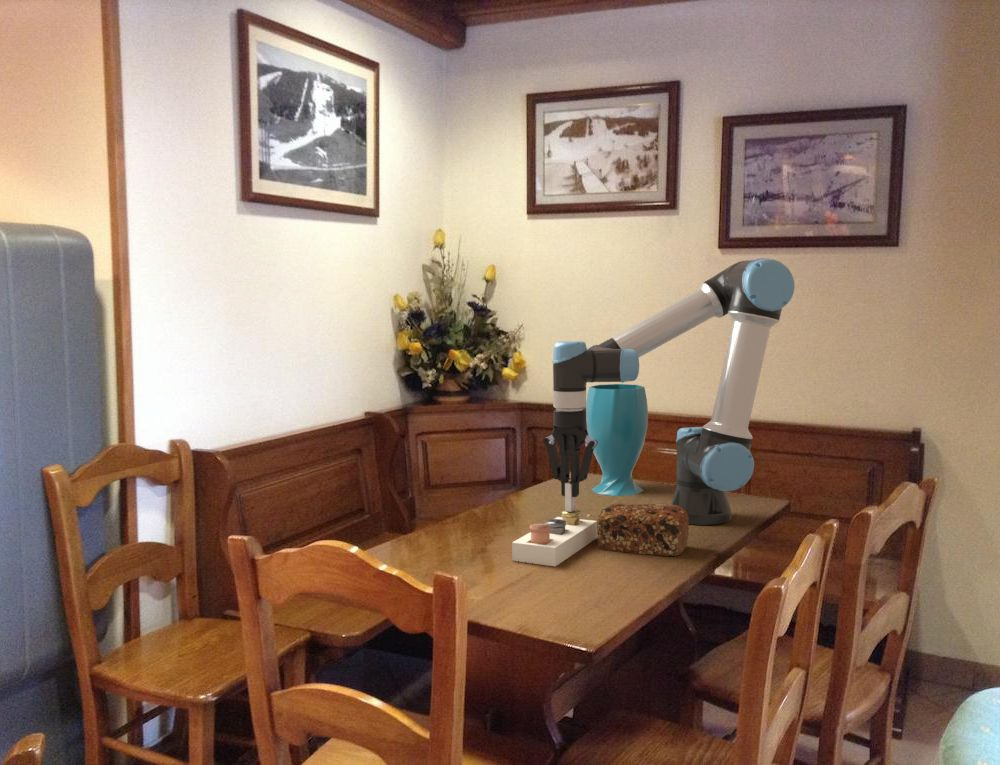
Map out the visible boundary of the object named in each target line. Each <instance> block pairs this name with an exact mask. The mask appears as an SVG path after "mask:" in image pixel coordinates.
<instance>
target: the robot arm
mask: <svg viewBox="0 0 1000 765" xmlns="http://www.w3.org/2000/svg"><path fill="white" fill-rule="evenodd" d="M794 279H795V278H794V277H793V274H792V271H791V270H790V269H789V267H787V266H786V265H785V264H784V263H783V262H781V261H779V260H776V259H773V258H764V257H761V258H757V259H752V260H751V259H750V260H741V261H737V262H736V263H733V264H732V265H729V266H728V267H726V268H725V269H724V270H722V271H720V272H718V273H717V274H715V275H714V276H712V277H710V278H709V279H707V280H706V281H703V282H701V284H699V285H700V286H699V289H697V290H696V291H694V292H692V293H691V294H688V295H687V296H685V297H683V298H681V299H680V300H677V301H676V302H674V303H672V304H670V305H669V306H666V307H665V308H663V309H661V310H660V311H657V312H656V313H653V314H652V315H651V316H649V317H647V318H645V319H643V320H641V321H640V322H637V323H636V324H634V325H632V326H631V327H629V328H627V329H625V330H623V331H621V332H619V333H617V334H615V335H613V336H612V337H611V338H609V339H607V340H605V341H603V342H601V343H599V344H594V345H592V346H589V347H587V344H586V342H585V341H581V340H578V341H577V340H562V341H557V342H555V344H554V345H553V353H552V362H551V363H552V375H553V376H552V380H553V384H552V385H553V387H552V388H553V389H552V390H553V392H552V393H553V397H552V398H553V399H552V405H553V408H555V409H554V410H553V416H552V417H553V429H552V431H551V434H550V435H548V436H547V437H544V438H543V439H542V442H543V444H544V446H545V448H546V449H547V450H546V451H547V456H548V459H549V460H548V461H549V463H550V469H551V473H552V476H553V477H552V478H553V479H554V480H558V481H559V482H560V483H561V486H560V488H561V490H560V491H561V493H560V494H561V497H564V510H565V511H567V512H572V511H574V510H575V509H576V504H577V503H576V498H577V497H579V495H580V482H583V481H586V480H587V479H588V475H589V472H590V467H591V466H590V465H591V461H592V457H593V455H594V453H593V450H594V448H595V447H596V445H597V443H598V441H597V440H593V439H592V438H590V437H589V436H588V431H587V422H586V404H587V383H621V384H624V383H627V382H634V381H636V380H637V379H638V377H639V374H640V358H641V357H643V356H645V355H646V354H648V353H650V352H652V351H653V350H656V349H657V348H659V347H661V346H663V345H665V344H667V343H668V342H670V341H672V340H673V339H676V338H678V337H679V336H681V335H683V334H685V333H687V332H688V331H690V330H691V329H694V328H696V327H697V326H699V325H701V324H703V323H705V322H706V321H709V320H710V319H712V318H714V317H715V318H719V319H721V318H723V317H724V316H726V315H729V316H730V318H731V319H732V324H731V329H730V332H729V338H728V343H727V347H726V351H725V356H724V359H723V360H724V361H723V365H722V369H721V373H720V374H721V375H720V378H719V383H718V388H717V391H716V395H715V396H716V397H715V399H714V404H713V409H712V415H711V419H710V420H709V421H708V422H707V423H706V424H704V425H703V426H694V427H693V426H692V427H681V428H679V429H678V430H677V433H676V440H675V443H676V488H675V491H674V495H673V497H672V501H671V504H670V505H678V506H681V507H683V508H685V509H686V510H687V514H688V518H689V524H690V525H696V526H697V525H698V526H699V525H700V526H701V525H702V526H703V525H704V526H709V525H710V526H712V525H719V524H720V525H721V524H725V523H728V522H731V520H732V508H731V505H730V504H731V503H730V502H729V499H728V495H727V493H726V492H732V491H736V490H738V489H741V488H742V487H743V486H745V485H746V484H747V483H748V482H749V480H750V479H751V478H752V476H753V474H754V469H755V461H754V458H753V455H752V452H751V448H752V443H753V435H752V433H751V432H750V430H749V426H750V425H749V424H750V420H751V416H752V412H753V407H754V403H755V398H756V395H757V394H756V393H757V389H758V385H759V380H760V377H761V372H762V367H763V362H764V359H765V354H766V350H767V346H768V341H769V336H770V332H771V329H772V327H774V326H776V325H777V324H778V323H779V322H780V320H781V319H780V318H781V315H782V310H783V308H784V307H785V306H787V305H788V304H789V303H790V301H791V300H792V298H793V295H794V292H795V288H796V287H795V280H794ZM556 444H557V445H558V446H559V456H560V458H559V456H558V451H557V447H556ZM583 445H585V449H584V451H583V452H584V453H583V456H582V461H581V459H580V457H581V456H580V455H581V447H582V446H583ZM580 462H581V463H580Z"/></svg>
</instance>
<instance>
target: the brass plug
mask: <svg viewBox="0 0 1000 765" xmlns="http://www.w3.org/2000/svg"><path fill="white" fill-rule="evenodd" d="M581 512H582V511H581V510H580V509H578V508H577V509H575V510H574V511H572V512H567V511H565V509H562V510H561V517H562V519H563V520H565V521H566V525H574V526H577V525H579V524H580V519H581V514H582V513H581Z"/></svg>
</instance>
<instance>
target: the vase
mask: <svg viewBox="0 0 1000 765" xmlns="http://www.w3.org/2000/svg"><path fill="white" fill-rule="evenodd" d="M648 408H649V406H648V399H647V393H646V388H645V386H643V385H639V384H626V383H615V384H614V383H613V384H612V383H610V384H595V385H592V386H588V391H587V395H586V407H585V411H586V430H587V432H588V436H589V437H590V438H592V439H593V440H597V441H598V443H597V445H596V447H595V448H594V450H593V455H594V456H595V459H596V461H597V463H598V465H599V467H600V470H601V473H602V474H601V480H600V483H599V484H598V485H596V486H595V487H593V488H592V489H591V491H593V492H594V493H595V494H596V495H604V496H605V495H606V496H615V497H623V496H635V495H637V494H640V493H642V492H644V489H643V488H642V487H640V486H639V484H637V483H636V482H635V481H634V479H633V476H632V473H633V470H634V468H635V466H636V465H637V462H638V460H639V457H640V455H641V452H642V450H643V448H644V445H645V440H646V436H647V431H648V420H649V412H648V411H649V410H648Z"/></svg>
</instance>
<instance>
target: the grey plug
mask: <svg viewBox="0 0 1000 765" xmlns="http://www.w3.org/2000/svg"><path fill="white" fill-rule="evenodd" d="M545 524H548V525H550V534H558V535H562V534H564V533H565V526H566V521H565V520H562V519H554V518H551V519H548V520H546V521H545Z"/></svg>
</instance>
